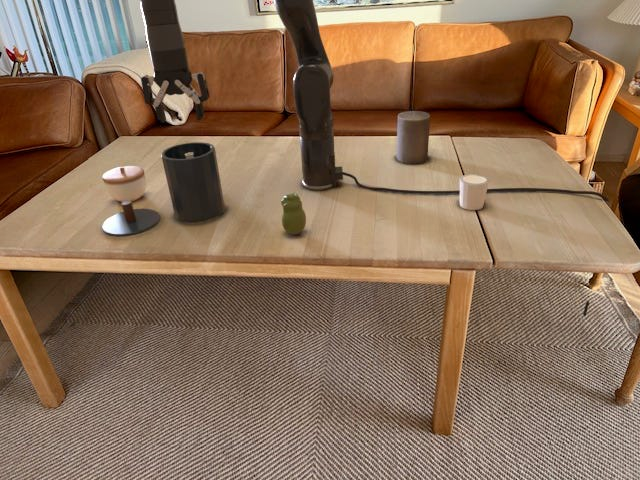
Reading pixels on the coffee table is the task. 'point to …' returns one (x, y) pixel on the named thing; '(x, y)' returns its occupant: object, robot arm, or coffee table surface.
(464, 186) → the white cylinder
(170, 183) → the canister
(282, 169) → the coffee table surface
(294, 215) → the green figurine
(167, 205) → the coffee table surface
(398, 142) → the pillar candle
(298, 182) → the coffee table surface
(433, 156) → the coffee table surface
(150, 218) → the lid
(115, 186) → the trinket box
